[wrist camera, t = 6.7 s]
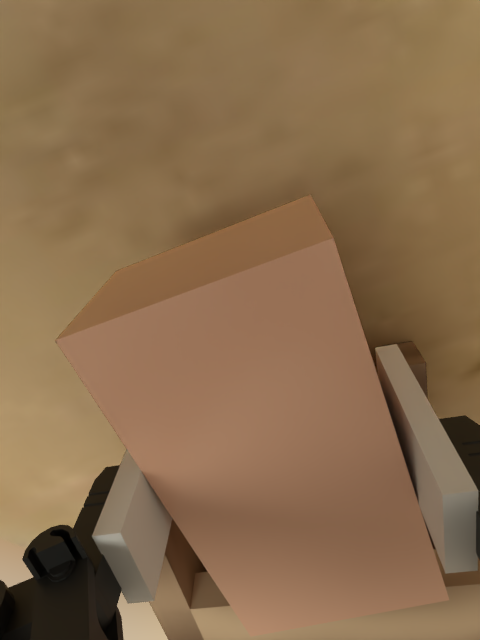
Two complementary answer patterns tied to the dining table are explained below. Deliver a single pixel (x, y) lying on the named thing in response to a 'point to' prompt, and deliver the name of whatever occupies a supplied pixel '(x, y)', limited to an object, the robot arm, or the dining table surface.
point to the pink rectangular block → (261, 421)
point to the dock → (338, 636)
